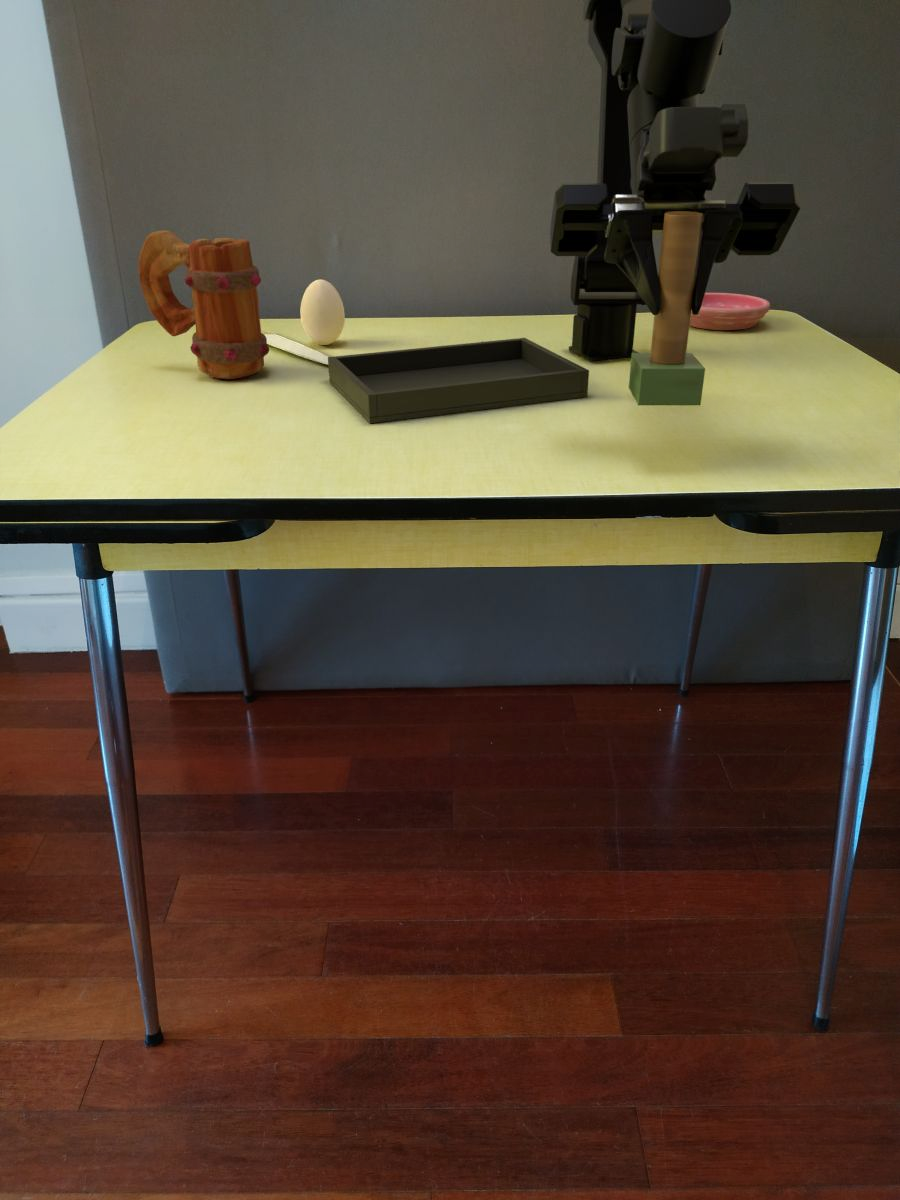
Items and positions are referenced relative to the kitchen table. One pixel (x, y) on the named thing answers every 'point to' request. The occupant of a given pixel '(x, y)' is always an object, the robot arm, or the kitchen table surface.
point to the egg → (322, 312)
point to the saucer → (729, 311)
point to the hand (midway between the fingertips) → (676, 311)
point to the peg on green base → (672, 321)
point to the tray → (454, 379)
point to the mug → (208, 300)
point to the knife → (294, 347)
